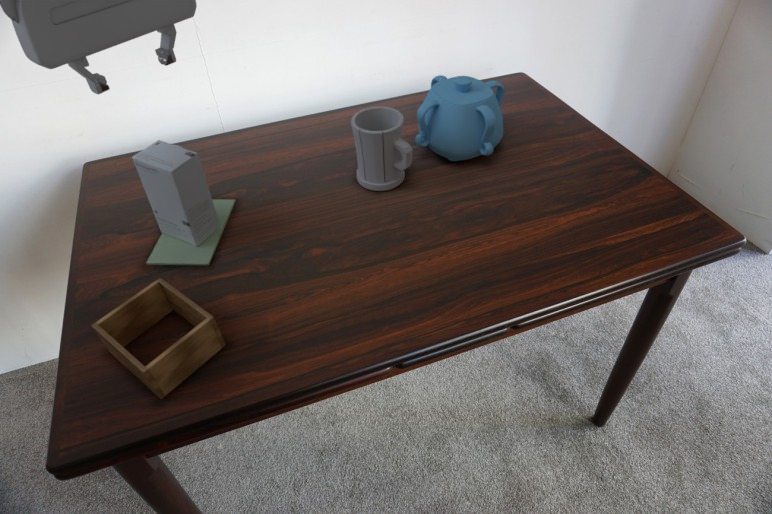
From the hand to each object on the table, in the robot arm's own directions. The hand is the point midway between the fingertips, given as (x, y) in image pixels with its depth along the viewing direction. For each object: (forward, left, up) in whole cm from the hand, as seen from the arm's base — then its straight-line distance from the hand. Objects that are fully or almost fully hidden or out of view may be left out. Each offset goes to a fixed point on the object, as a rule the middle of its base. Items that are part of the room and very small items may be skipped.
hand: (136, 76), depth 64 cm
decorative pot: (+48, -18, -29) cm, 59 cm away
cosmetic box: (+1, +4, -28) cm, 29 cm away
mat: (+1, +4, -29) cm, 29 cm away
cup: (+31, -13, -29) cm, 44 cm away
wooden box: (-16, -13, -29) cm, 35 cm away
